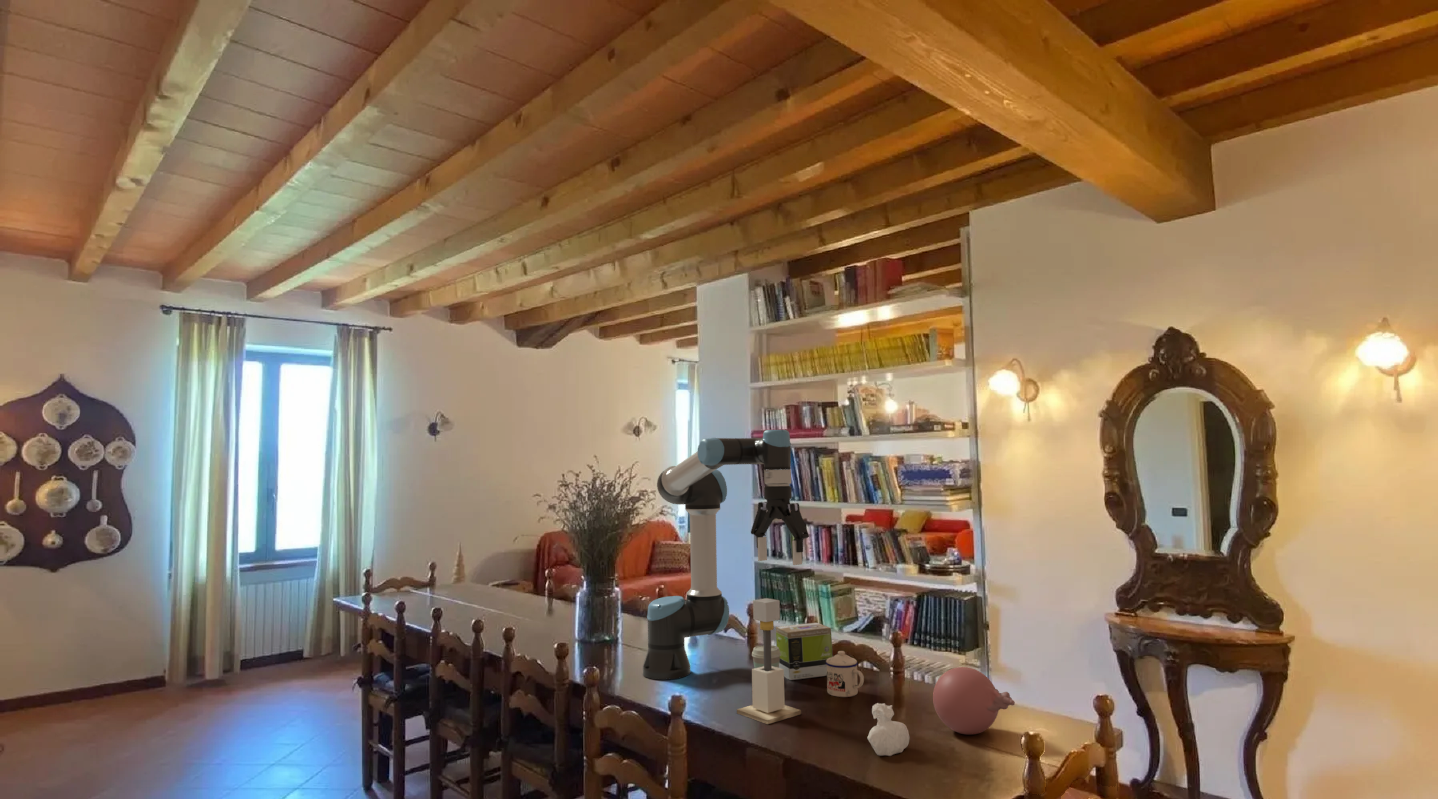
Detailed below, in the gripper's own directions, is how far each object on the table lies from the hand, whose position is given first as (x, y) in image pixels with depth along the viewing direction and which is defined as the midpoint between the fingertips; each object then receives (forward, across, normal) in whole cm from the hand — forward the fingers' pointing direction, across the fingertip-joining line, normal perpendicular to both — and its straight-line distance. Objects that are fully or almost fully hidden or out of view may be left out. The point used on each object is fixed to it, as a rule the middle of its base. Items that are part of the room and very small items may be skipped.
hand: (779, 562), depth 216 cm
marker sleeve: (+37, +1, -7) cm, 38 cm away
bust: (+39, +39, -6) cm, 56 cm away
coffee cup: (+39, -14, +8) cm, 42 cm away
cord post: (+39, +2, -7) cm, 39 cm away
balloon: (+39, +48, +18) cm, 64 cm away
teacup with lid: (+39, +4, +21) cm, 45 cm away
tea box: (+39, -18, +28) cm, 51 cm away
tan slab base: (+39, +2, -7) cm, 39 cm away
